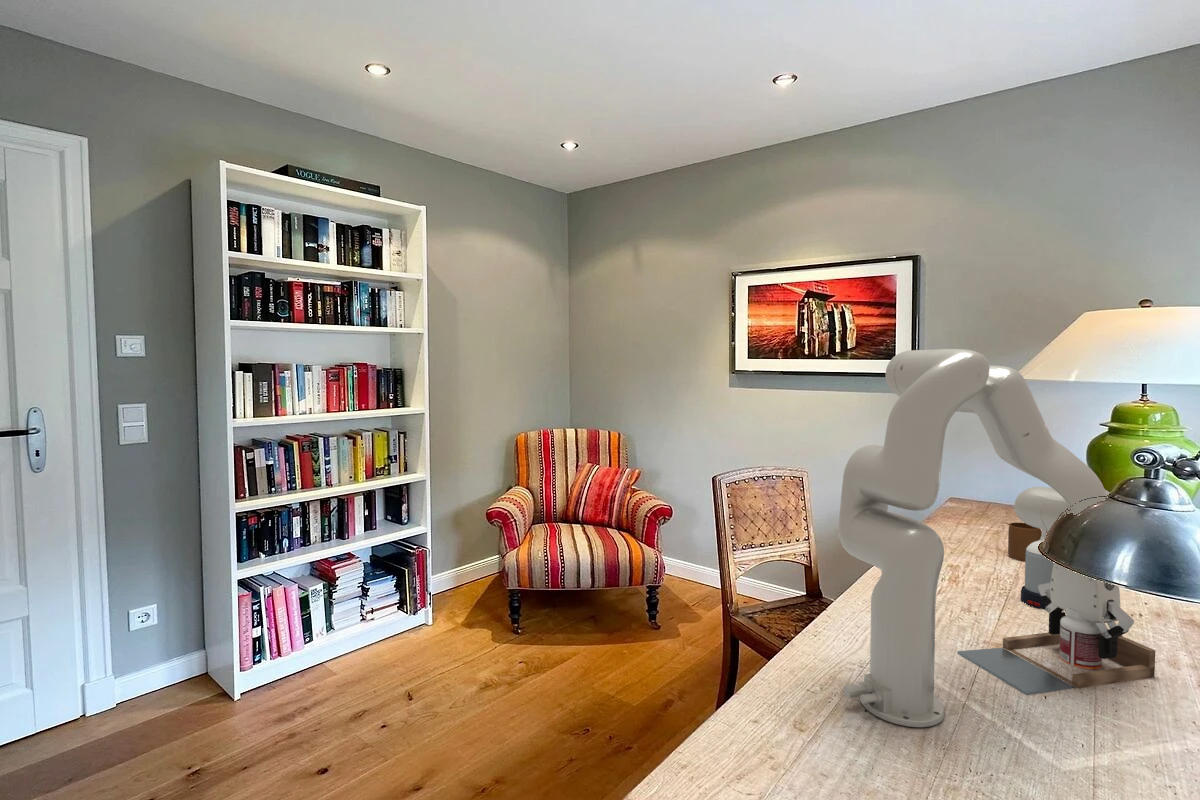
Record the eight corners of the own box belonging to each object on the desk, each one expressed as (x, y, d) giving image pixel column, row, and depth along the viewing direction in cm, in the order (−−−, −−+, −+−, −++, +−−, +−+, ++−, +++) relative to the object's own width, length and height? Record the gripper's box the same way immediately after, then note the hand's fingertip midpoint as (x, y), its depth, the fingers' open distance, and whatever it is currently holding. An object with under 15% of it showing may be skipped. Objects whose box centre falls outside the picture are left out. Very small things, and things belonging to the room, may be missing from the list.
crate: (1078, 694, 105) (1079, 660, 104) (1002, 652, 120) (1003, 622, 119) (1154, 683, 108) (1155, 650, 107) (1070, 644, 123) (1071, 614, 122)
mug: (1059, 559, 173) (1060, 526, 173) (1060, 567, 167) (1061, 533, 166) (1008, 552, 180) (1009, 520, 180) (1007, 559, 174) (1008, 526, 173)
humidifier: (1025, 607, 141) (1029, 499, 139) (1016, 594, 149) (1019, 492, 147) (1069, 612, 138) (1072, 502, 136) (1057, 598, 146) (1060, 494, 144)
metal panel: (1075, 694, 105) (1026, 699, 103) (1001, 653, 119) (957, 657, 117) (1076, 687, 105) (1026, 692, 103) (1002, 647, 119) (957, 651, 117)
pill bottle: (1106, 669, 113) (1109, 610, 112) (1093, 679, 110) (1095, 618, 109) (1066, 655, 118) (1068, 599, 118) (1053, 664, 115) (1055, 607, 114)
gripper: (1151, 567, 105) (1147, 665, 106) (1057, 539, 122) (1055, 623, 123) (1115, 571, 103) (1111, 670, 105) (1025, 542, 120) (1023, 627, 122)
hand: (1081, 645), depth 114 cm, fingers open, 9 cm apart
